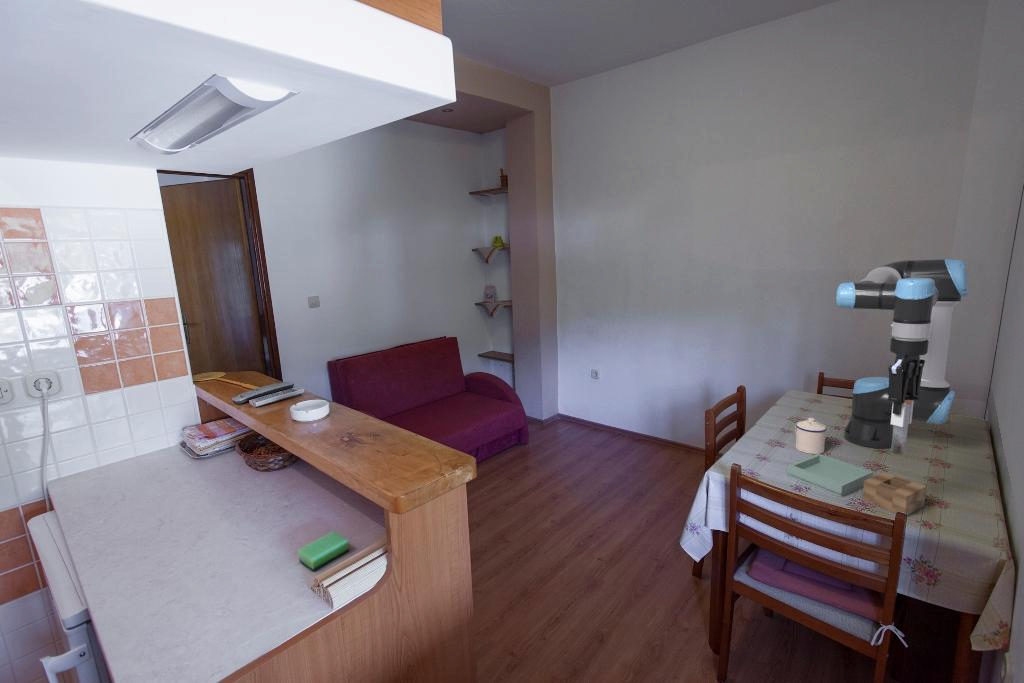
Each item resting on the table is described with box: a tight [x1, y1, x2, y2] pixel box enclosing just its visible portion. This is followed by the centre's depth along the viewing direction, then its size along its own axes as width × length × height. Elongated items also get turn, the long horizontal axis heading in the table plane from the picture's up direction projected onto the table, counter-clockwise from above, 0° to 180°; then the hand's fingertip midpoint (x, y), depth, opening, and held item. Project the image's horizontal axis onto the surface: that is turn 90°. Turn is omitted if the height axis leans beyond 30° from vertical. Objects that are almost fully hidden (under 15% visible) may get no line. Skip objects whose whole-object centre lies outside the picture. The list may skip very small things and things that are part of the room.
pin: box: [890, 398, 911, 455], centre depth 125 cm, size 3×3×15 cm
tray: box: [786, 453, 874, 498], centre depth 144 cm, size 16×16×4 cm
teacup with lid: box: [794, 417, 827, 455], centre depth 165 cm, size 12×9×12 cm
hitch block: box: [861, 471, 927, 517], centre depth 128 cm, size 10×10×6 cm
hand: (900, 423), depth 125 cm, fingers closed on pin, 3 cm apart
